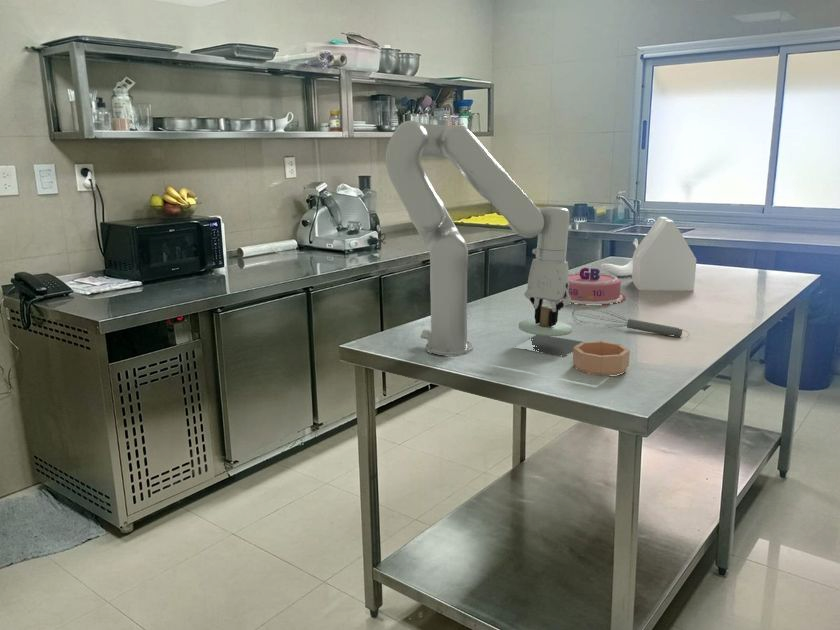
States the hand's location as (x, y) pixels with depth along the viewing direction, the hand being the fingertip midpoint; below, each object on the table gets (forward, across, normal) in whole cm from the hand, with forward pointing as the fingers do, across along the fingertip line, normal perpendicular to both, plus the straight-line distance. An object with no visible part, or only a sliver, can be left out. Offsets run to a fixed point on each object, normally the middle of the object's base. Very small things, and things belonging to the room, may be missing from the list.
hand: (545, 323), depth 177 cm
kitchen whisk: (+5, +12, +28) cm, 31 cm away
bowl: (+6, +19, -9) cm, 22 cm away
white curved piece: (+4, -17, +104) cm, 105 cm away
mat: (+6, +1, +1) cm, 7 cm away
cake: (+5, -13, +62) cm, 63 cm away
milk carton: (+3, +2, +93) cm, 93 cm away
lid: (+2, 0, 0) cm, 2 cm away
